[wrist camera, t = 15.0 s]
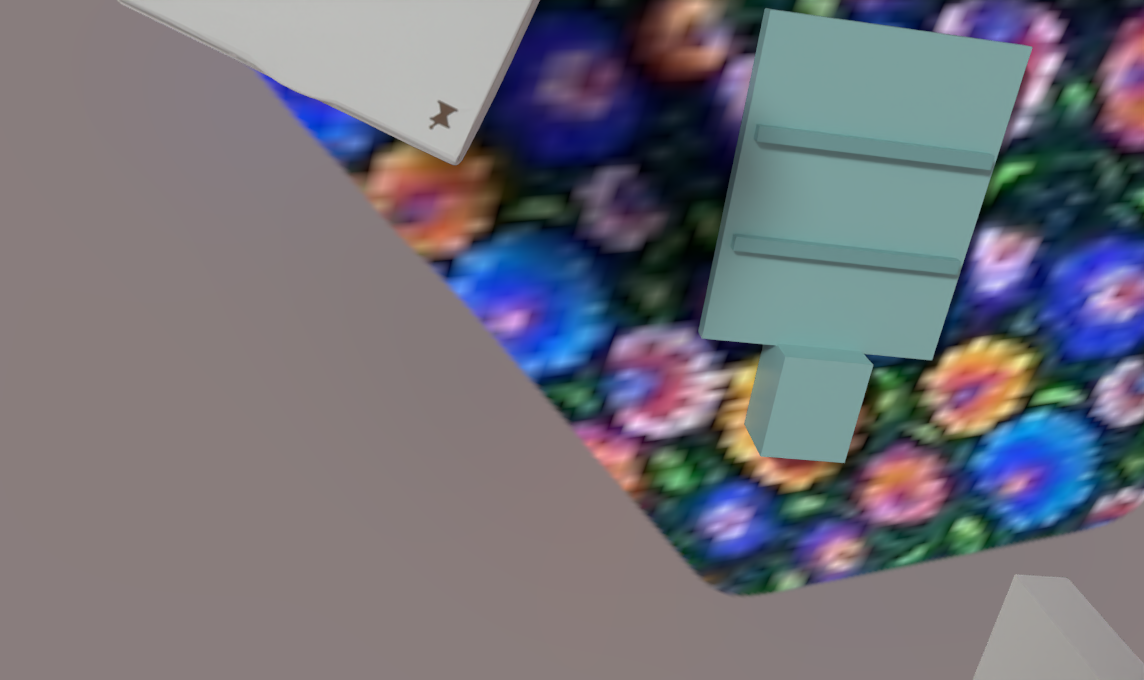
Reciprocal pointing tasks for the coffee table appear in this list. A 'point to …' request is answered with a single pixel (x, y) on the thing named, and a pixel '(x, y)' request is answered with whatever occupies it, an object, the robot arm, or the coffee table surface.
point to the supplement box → (370, 56)
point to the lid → (850, 211)
